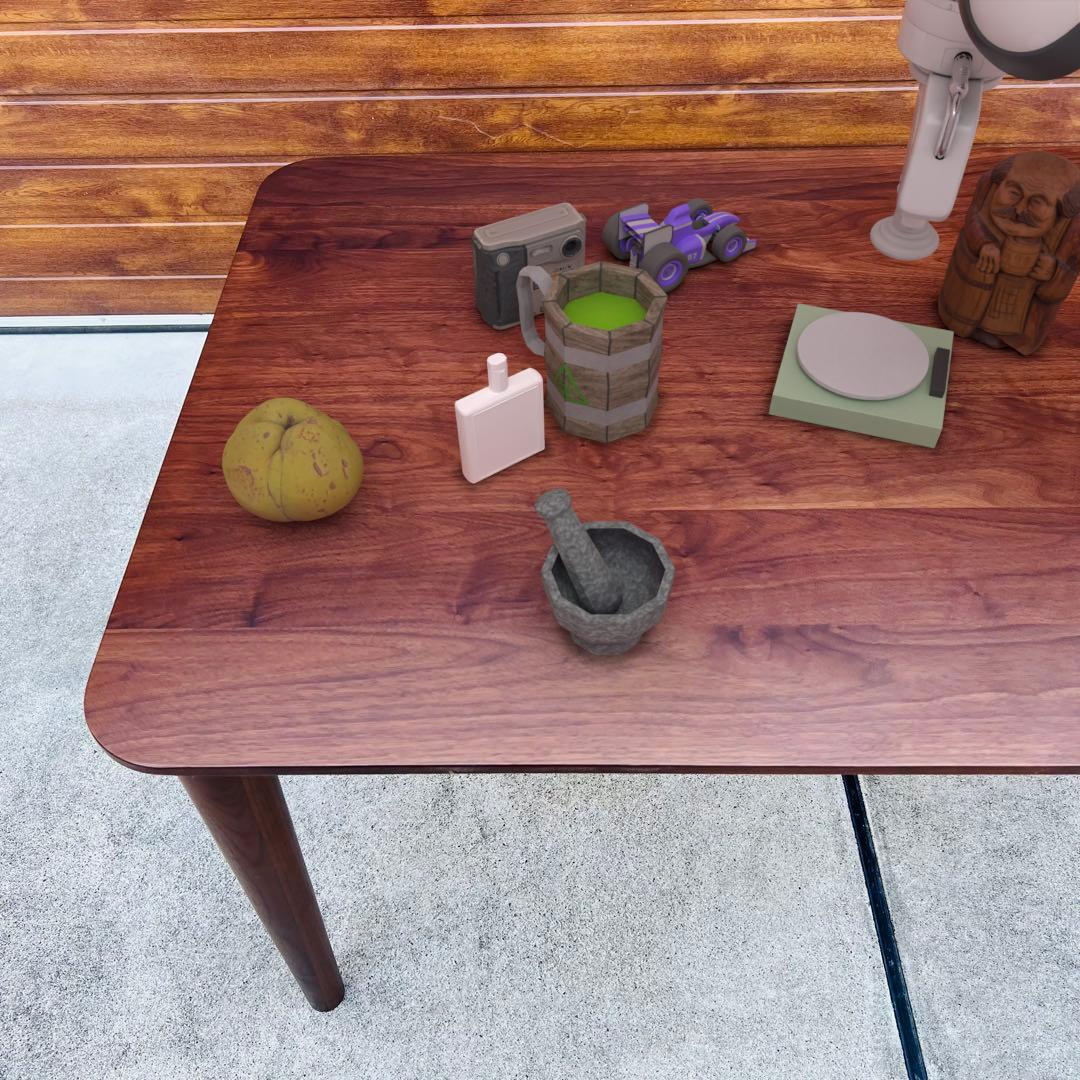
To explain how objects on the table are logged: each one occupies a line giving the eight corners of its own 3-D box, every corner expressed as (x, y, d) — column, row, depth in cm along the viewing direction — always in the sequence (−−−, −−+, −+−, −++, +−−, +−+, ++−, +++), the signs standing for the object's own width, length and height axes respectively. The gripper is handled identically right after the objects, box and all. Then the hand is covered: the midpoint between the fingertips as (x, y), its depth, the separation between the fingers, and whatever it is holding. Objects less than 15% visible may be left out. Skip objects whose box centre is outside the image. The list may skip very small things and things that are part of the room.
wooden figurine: (917, 322, 102) (973, 157, 88) (942, 290, 105) (999, 125, 91) (1034, 366, 97) (1111, 199, 83) (1056, 331, 100) (1134, 165, 86)
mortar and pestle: (690, 613, 80) (706, 514, 70) (625, 696, 75) (632, 602, 66) (574, 549, 84) (575, 448, 75) (506, 624, 80) (497, 526, 70)
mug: (682, 399, 95) (694, 295, 86) (608, 460, 91) (612, 357, 81) (559, 329, 102) (558, 226, 93) (484, 382, 98) (475, 279, 88)
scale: (946, 351, 99) (957, 322, 96) (934, 448, 91) (945, 420, 88) (793, 323, 102) (799, 294, 99) (768, 414, 94) (774, 385, 91)
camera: (491, 336, 102) (484, 252, 94) (470, 304, 105) (462, 220, 98) (592, 305, 105) (594, 221, 97) (568, 275, 108) (568, 191, 100)
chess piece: (933, 226, 82) (967, 121, 75) (940, 265, 79) (976, 159, 72) (866, 222, 83) (894, 117, 76) (870, 261, 79) (899, 155, 72)
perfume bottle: (472, 486, 89) (460, 384, 80) (460, 473, 90) (448, 370, 81) (547, 449, 92) (544, 346, 82) (535, 436, 93) (531, 333, 83)
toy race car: (764, 255, 109) (773, 202, 104) (649, 301, 105) (653, 247, 100) (711, 213, 115) (718, 160, 110) (600, 255, 110) (601, 202, 105)
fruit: (264, 574, 83) (232, 493, 76) (224, 482, 90) (191, 399, 82) (388, 524, 86) (370, 442, 79) (341, 439, 93) (320, 356, 85)
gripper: (1013, 104, 61) (946, 292, 71) (1023, -32, 73) (965, 147, 84) (906, 90, 62) (856, 277, 73) (933, -41, 74) (887, 136, 85)
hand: (914, 206), depth 78 cm, fingers closed on chess piece, 3 cm apart
